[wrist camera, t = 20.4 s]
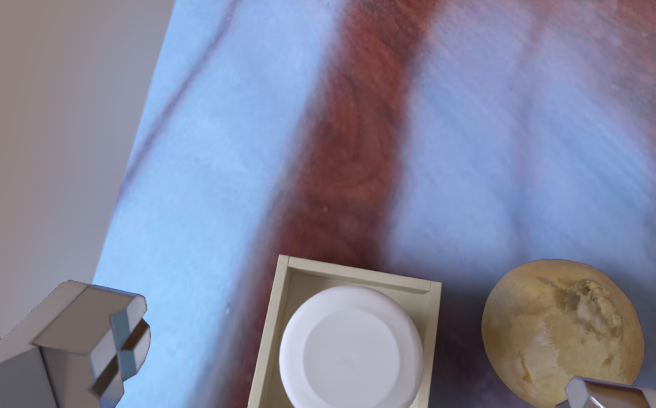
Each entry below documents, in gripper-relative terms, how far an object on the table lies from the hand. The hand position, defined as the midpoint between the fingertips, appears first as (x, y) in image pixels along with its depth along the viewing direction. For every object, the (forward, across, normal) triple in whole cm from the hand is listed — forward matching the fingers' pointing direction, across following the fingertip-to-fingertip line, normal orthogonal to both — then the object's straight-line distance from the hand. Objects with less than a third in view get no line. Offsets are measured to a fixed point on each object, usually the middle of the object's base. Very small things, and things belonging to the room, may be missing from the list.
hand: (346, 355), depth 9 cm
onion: (+16, -11, +12) cm, 23 cm away
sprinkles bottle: (+13, 0, +14) cm, 19 cm away
